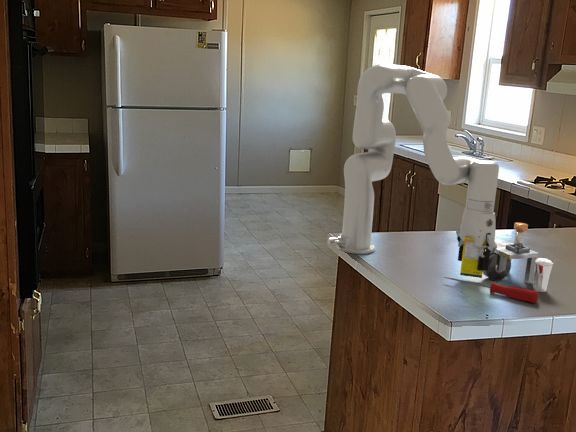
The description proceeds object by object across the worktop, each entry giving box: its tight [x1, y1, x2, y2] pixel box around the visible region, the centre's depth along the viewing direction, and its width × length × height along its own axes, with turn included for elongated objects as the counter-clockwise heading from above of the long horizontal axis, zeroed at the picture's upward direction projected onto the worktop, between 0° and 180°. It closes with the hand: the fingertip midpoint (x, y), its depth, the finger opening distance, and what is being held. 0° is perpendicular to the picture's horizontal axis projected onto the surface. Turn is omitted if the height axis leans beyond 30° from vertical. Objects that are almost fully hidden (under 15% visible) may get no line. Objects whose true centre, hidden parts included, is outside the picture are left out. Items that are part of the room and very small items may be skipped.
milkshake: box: [532, 257, 556, 293], centre depth 166 cm, size 5×5×10 cm
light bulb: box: [513, 222, 529, 249], centre depth 171 cm, size 4×4×7 cm
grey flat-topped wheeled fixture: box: [482, 241, 539, 285], centre depth 174 cm, size 13×12×10 cm
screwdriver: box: [443, 276, 540, 304], centre depth 163 cm, size 4×25×4 cm, turn 59°
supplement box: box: [459, 236, 486, 279], centre depth 170 cm, size 6×6×11 cm
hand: (472, 264), depth 170 cm, fingers closed on supplement box, 8 cm apart
